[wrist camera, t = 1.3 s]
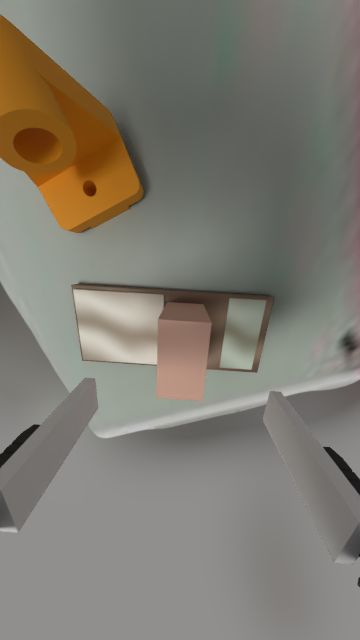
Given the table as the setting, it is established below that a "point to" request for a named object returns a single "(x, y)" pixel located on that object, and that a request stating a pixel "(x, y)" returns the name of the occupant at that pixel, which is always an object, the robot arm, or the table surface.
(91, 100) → the bracket
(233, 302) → the board
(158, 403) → the table surface
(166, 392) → the stub
